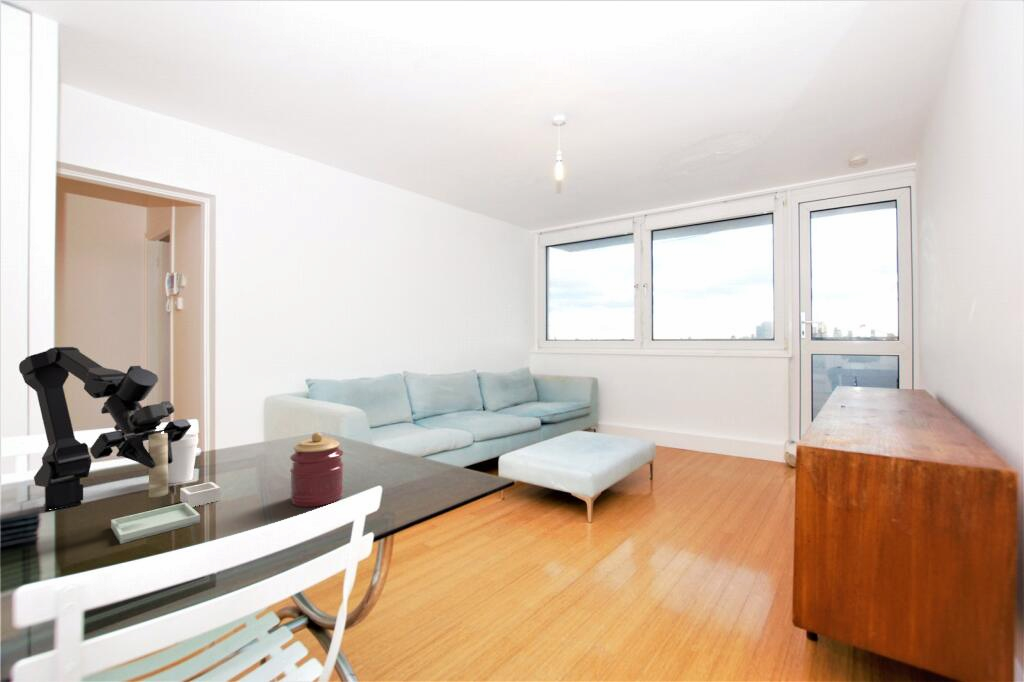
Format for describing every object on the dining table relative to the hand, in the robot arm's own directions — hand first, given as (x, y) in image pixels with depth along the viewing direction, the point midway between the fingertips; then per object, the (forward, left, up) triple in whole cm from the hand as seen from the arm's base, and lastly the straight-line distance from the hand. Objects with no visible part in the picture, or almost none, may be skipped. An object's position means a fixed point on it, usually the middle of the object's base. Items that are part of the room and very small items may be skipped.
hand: (162, 464), depth 103 cm
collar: (+10, +10, -13) cm, 19 cm away
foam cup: (+11, +35, -14) cm, 39 cm away
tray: (-1, 0, -13) cm, 14 cm away
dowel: (-1, +1, -7) cm, 7 cm away
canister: (+31, -12, -14) cm, 36 cm away
